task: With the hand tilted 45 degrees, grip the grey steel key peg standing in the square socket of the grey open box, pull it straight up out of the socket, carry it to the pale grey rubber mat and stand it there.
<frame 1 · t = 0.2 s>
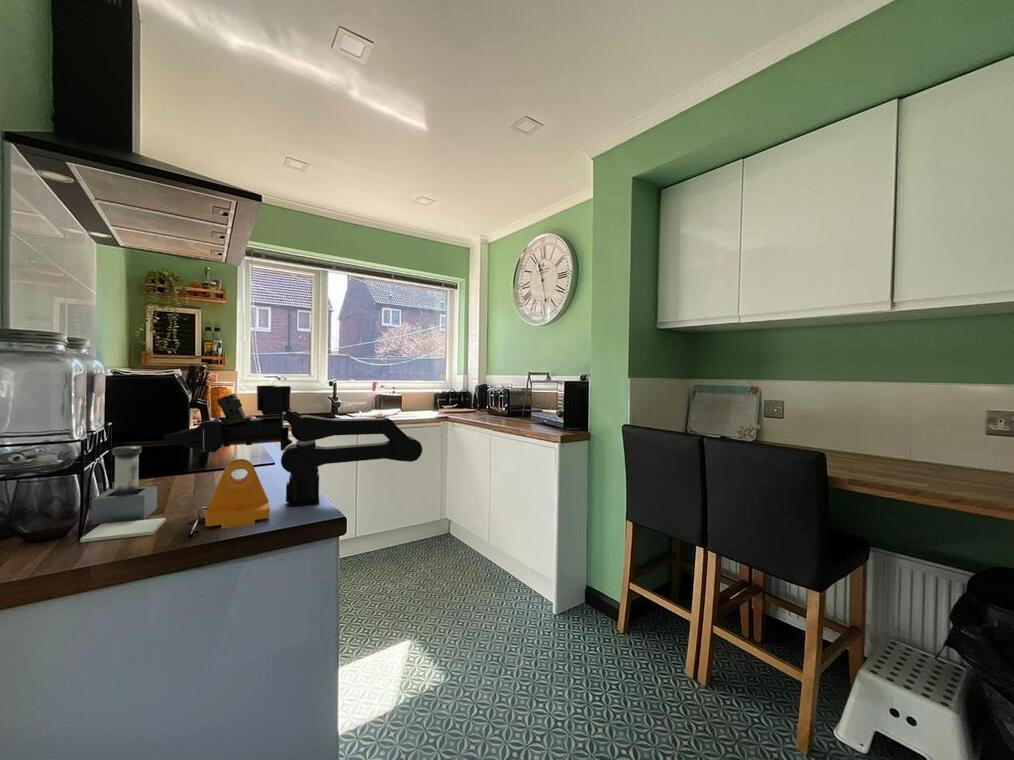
hand: (171, 435, 88), 17 cm above the table, tool horizontal, fingers open, 9 cm apart
key peg: (126, 506, 86), point 2 cm above the table, touching grey open box
bracket: (238, 521, 86), on the table
grey open box: (125, 516, 86), on the table
mat: (126, 530, 79), on the table
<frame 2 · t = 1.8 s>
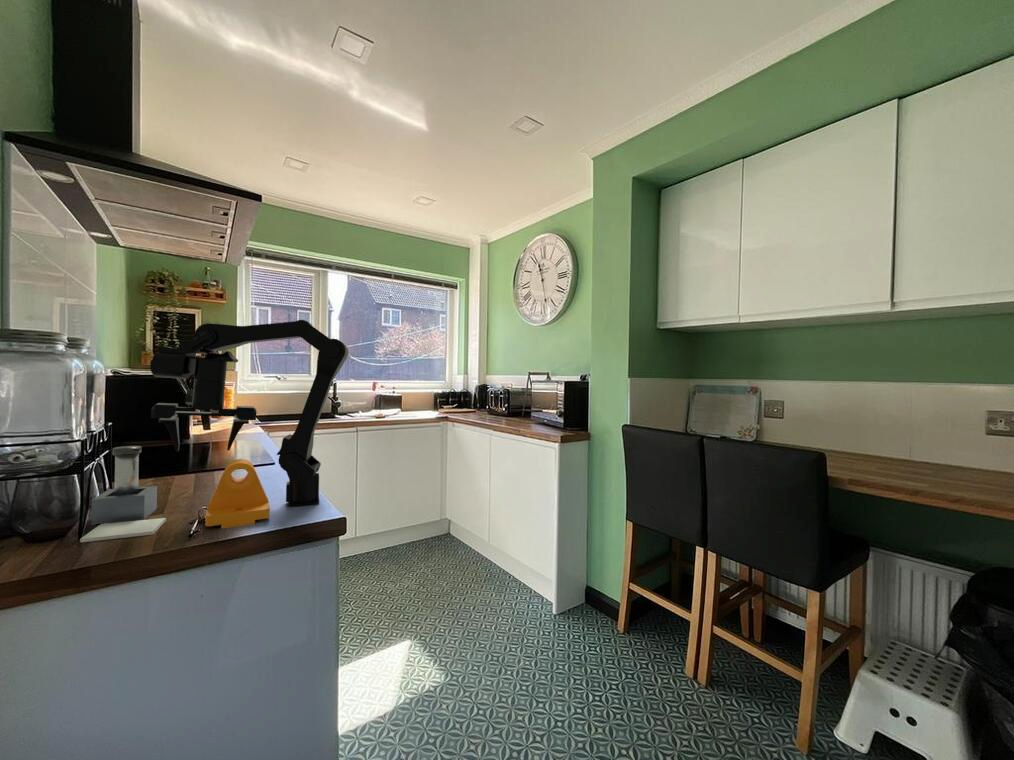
hand: (203, 450, 94), 13 cm above the table, tool pointing down, fingers open, 9 cm apart
nothing on the table moved.
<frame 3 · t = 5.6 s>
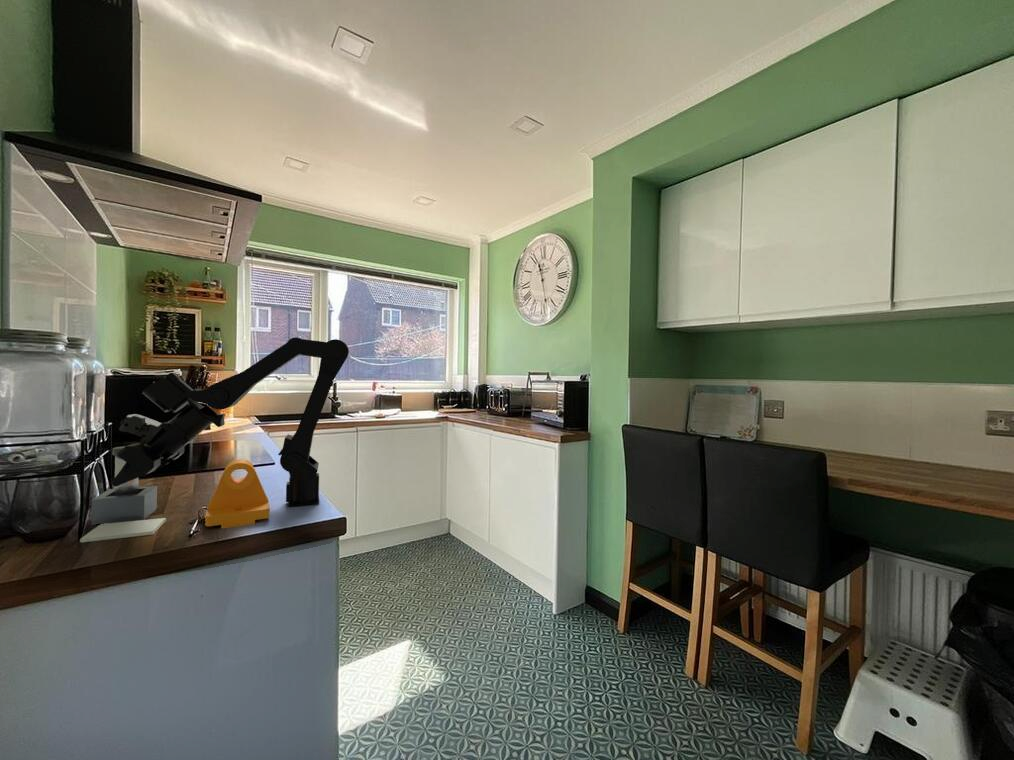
hand: (118, 482, 86), 7 cm above the table, tool tilted 45°, fingers closed on key peg, 4 cm apart
key peg: (126, 506, 86), point 2 cm above the table, touching grey open box, gripper
everything else where it was.
when the fingers open (7 cm above the table, at t = 8.6 s): key peg drops 1 cm, resting on mat.
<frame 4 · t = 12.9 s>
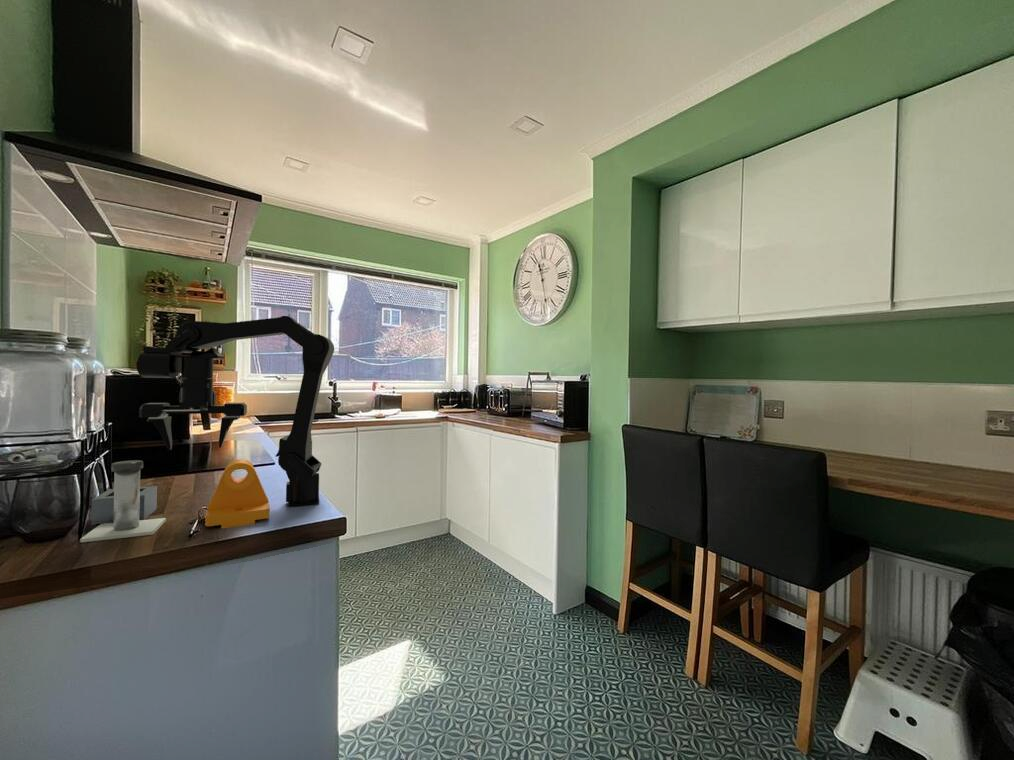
hand: (195, 448, 94), 13 cm above the table, tool pointing down, fingers open, 9 cm apart
key peg: (126, 527, 79), point 1 cm above the table, touching mat
everything else where it was.
at the end: key peg inside the target area on the mat (0.0 cm from its centre), point 0.6 cm above the mat's base; key peg tilted 1°; the gripper is holding nothing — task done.
